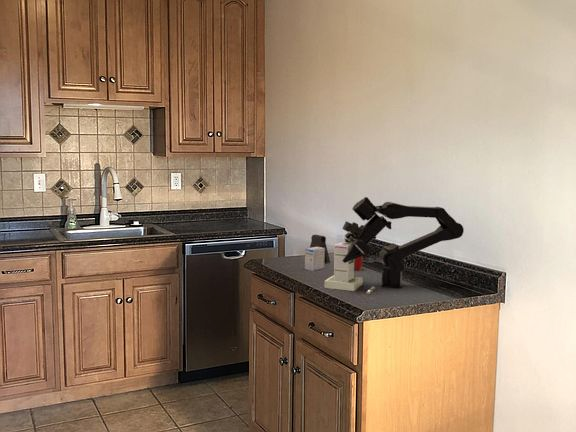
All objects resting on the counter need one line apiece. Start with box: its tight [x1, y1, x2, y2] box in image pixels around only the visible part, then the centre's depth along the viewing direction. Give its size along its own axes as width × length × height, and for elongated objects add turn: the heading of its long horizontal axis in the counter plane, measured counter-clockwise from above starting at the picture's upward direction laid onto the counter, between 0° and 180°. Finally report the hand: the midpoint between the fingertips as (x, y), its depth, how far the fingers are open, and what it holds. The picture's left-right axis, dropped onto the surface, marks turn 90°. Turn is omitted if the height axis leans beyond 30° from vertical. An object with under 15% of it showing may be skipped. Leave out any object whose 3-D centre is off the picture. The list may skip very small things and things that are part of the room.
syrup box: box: [333, 241, 356, 283], centre depth 233 cm, size 6×6×14 cm
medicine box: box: [304, 247, 325, 272], centre depth 264 cm, size 8×4×9 cm, turn 141°
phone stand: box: [309, 234, 331, 265], centre depth 277 cm, size 9×6×12 cm, turn 129°
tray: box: [323, 274, 363, 292], centre depth 234 cm, size 11×11×3 cm
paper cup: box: [345, 237, 364, 272], centre depth 265 cm, size 8×8×14 cm
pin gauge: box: [365, 285, 376, 295], centre depth 227 cm, size 8×1×1 cm, turn 158°
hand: (341, 259), depth 233 cm, fingers closed on syrup box, 7 cm apart
